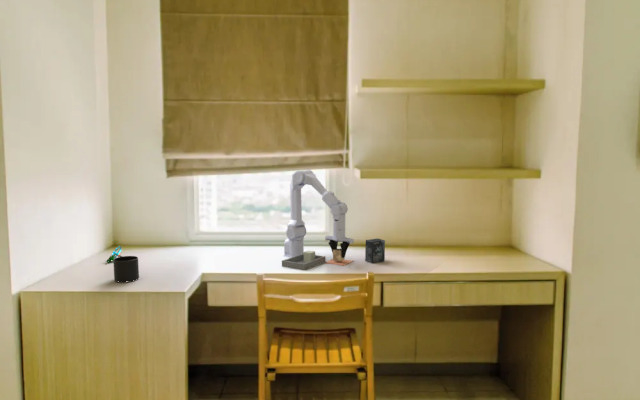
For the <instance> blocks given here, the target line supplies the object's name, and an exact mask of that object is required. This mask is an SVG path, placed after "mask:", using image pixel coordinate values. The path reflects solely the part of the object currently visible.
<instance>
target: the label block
mask: <svg viewBox="0 0 640 400" xmlns="http://www.w3.org/2000/svg"><path fill="white" fill-rule="evenodd" d="M345 258H346V256H345V257H344V258H342V256H341V248H337V249H335V250H333V253H332V259H333V260H334V261H343V260H346V259H345Z"/></svg>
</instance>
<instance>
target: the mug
mask: <svg viewBox="0 0 640 400" xmlns="http://www.w3.org/2000/svg"><path fill="white" fill-rule="evenodd" d="M112 262H113V277H114V278H113V279H114V282H115V281H119V282H126V281H133V280H136V279H138V278H140V271H139V257H138V256H134V255H125V256H123V255H122V257H118V256H117V257H116V258H114V260H113V261H112ZM138 280H139V279H138ZM136 281H137V280H136ZM119 282H118V283H119ZM133 282H134V281H133Z"/></svg>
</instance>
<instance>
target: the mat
mask: <svg viewBox="0 0 640 400" xmlns="http://www.w3.org/2000/svg"><path fill="white" fill-rule="evenodd" d="M353 262H354V260H350V259H345V260H343V261H334V260H333V258H332V259H330V260H327V261H325V262H324V264H329V265H336V266H342V267H344V266H346V265H349V264H351V263H353Z"/></svg>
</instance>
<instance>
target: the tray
mask: <svg viewBox="0 0 640 400" xmlns="http://www.w3.org/2000/svg"><path fill="white" fill-rule="evenodd" d="M325 262H326V256H323V255H316V254H315V260H313V261H310V262H307V263H304V253H303V254H300V255H297V256H294V257H288V258H287V259H283V260H281V267H283V268H290V269H296V270H302V271H306V270H308V269H311V268H314V267H317V266H318V265H321V264H323V263H324V264H325Z"/></svg>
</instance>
